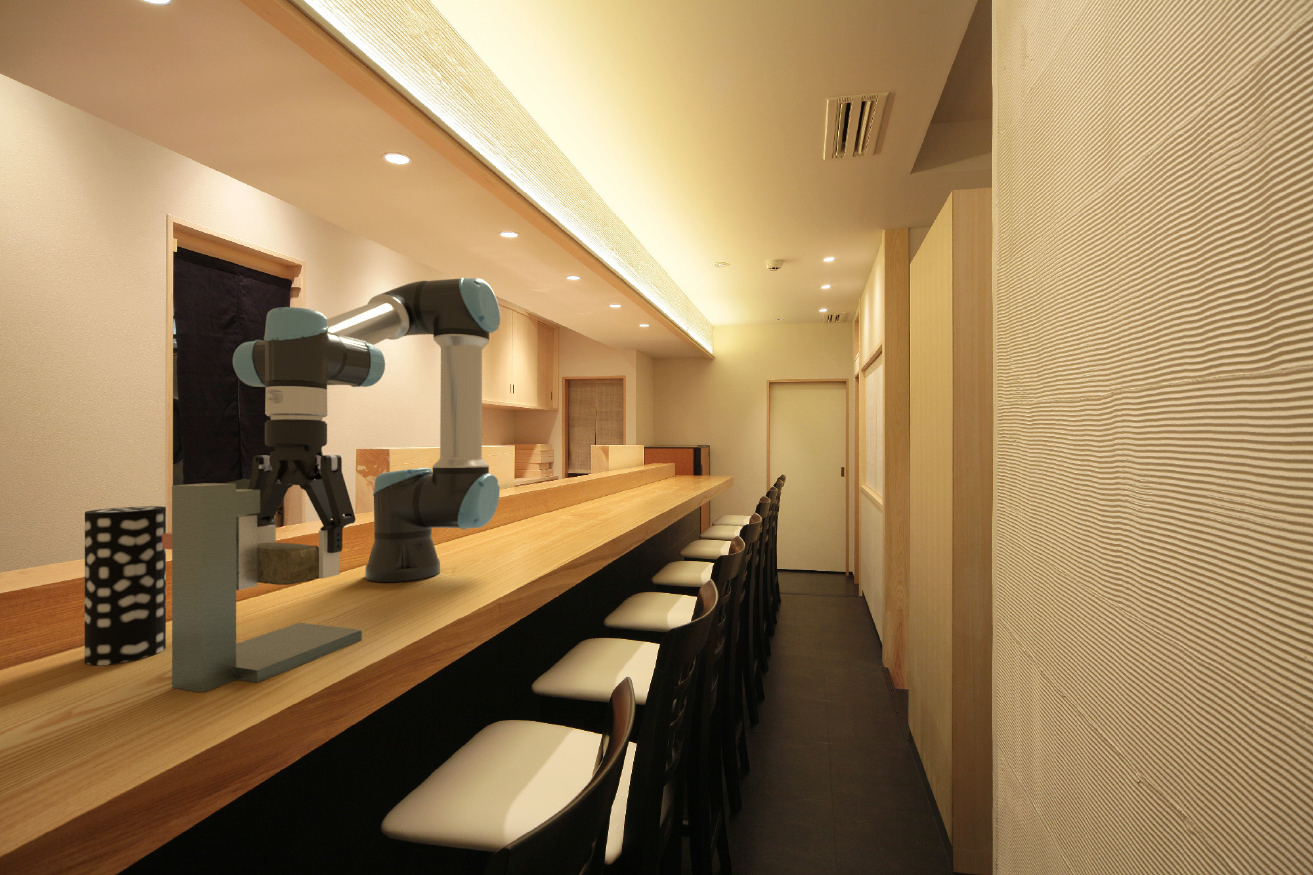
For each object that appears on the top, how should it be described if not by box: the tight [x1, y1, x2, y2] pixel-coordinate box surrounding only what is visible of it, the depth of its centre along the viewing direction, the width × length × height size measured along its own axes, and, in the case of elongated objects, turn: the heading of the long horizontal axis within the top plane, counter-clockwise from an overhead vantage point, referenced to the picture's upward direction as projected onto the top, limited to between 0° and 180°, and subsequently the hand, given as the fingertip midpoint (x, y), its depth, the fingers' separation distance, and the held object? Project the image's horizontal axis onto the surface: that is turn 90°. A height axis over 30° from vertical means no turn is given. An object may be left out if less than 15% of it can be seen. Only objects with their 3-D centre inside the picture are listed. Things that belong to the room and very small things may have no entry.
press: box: [171, 482, 363, 694], centre depth 78 cm, size 20×12×24 cm, turn 162°
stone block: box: [257, 541, 320, 586], centre depth 80 cm, size 6×12×5 cm, turn 69°
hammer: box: [162, 514, 258, 591], centre depth 77 cm, size 4×13×9 cm, turn 72°
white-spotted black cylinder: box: [84, 505, 167, 666], centre depth 81 cm, size 8×8×20 cm
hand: (296, 573), depth 82 cm, fingers closed on stone block, 11 cm apart
